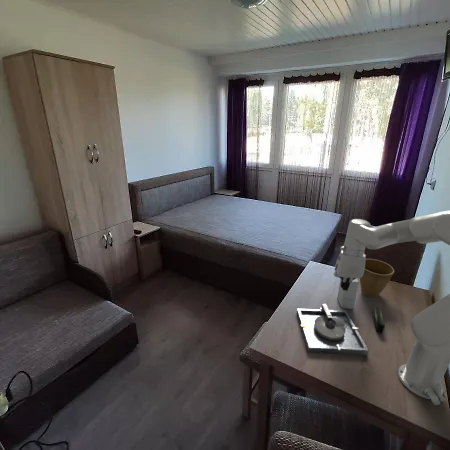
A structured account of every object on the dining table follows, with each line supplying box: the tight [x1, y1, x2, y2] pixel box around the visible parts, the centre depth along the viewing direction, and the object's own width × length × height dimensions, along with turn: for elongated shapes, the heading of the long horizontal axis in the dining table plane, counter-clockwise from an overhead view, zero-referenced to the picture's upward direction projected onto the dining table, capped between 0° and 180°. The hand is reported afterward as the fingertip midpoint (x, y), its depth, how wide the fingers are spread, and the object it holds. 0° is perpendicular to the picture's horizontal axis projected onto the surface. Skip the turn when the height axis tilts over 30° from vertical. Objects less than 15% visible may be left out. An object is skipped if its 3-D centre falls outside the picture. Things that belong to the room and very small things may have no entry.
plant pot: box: [359, 258, 395, 298], centre depth 133 cm, size 15×15×16 cm
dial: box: [314, 303, 346, 341], centre depth 110 cm, size 16×12×6 cm
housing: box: [296, 307, 370, 356], centre depth 110 cm, size 23×23×3 cm
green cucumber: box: [371, 305, 385, 335], centre depth 116 cm, size 5×3×15 cm
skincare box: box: [336, 277, 360, 310], centre depth 126 cm, size 8×6×15 cm
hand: (344, 288), depth 111 cm, fingers closed
